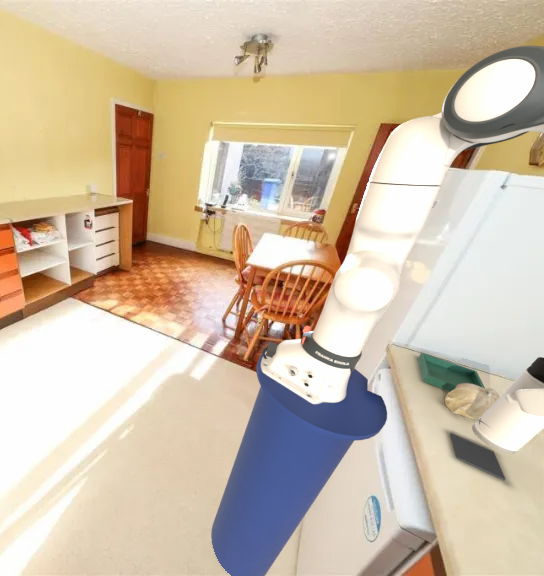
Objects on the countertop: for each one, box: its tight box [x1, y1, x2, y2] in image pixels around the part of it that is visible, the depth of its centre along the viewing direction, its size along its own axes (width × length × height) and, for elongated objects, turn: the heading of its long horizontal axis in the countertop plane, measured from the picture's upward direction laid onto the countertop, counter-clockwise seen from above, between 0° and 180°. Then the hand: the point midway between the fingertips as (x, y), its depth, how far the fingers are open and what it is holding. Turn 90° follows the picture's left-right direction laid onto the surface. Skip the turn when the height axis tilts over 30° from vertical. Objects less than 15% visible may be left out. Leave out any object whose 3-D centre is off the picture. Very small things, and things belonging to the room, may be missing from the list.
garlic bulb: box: [444, 383, 500, 420], centre depth 66 cm, size 9×8×10 cm
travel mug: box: [471, 356, 544, 455], centre depth 50 cm, size 6×7×20 cm
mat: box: [449, 432, 506, 481], centre depth 58 cm, size 7×7×1 cm
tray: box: [417, 352, 486, 392], centre depth 78 cm, size 13×13×2 cm
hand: (527, 398), depth 50 cm, fingers closed on travel mug, 6 cm apart
